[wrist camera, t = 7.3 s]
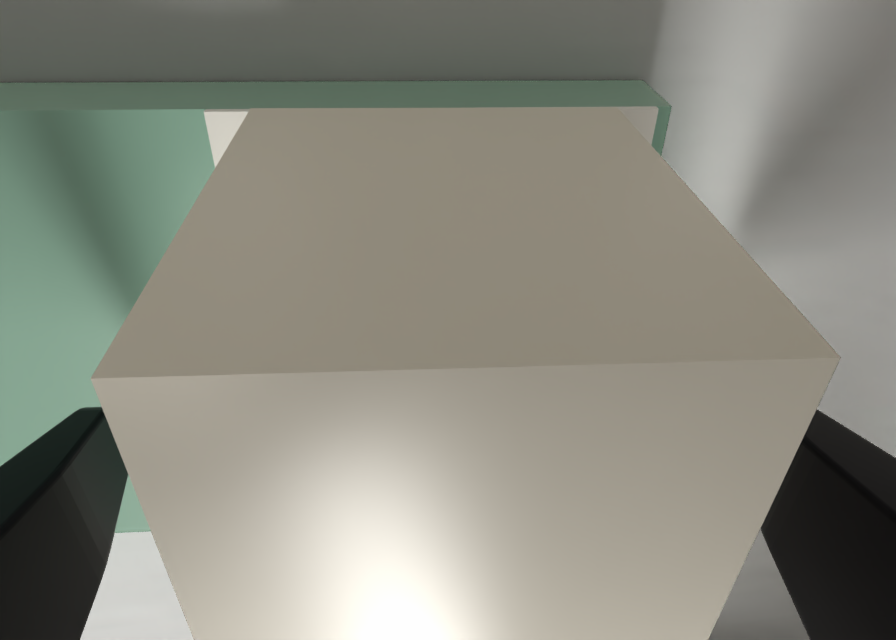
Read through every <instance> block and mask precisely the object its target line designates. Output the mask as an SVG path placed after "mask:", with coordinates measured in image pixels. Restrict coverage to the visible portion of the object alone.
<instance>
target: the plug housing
mask: <svg viewBox="0 0 896 640" xmlns="http://www.w3.org/2000/svg"><path fill="white" fill-rule="evenodd" d="M840 359H841V357H840V356H839V355H838V354H837V353H836V352H835V351H834V349H833V348H832V347H831V346H830V345H829V344H828V343H827V342H826V341H825V339H824V338H823V337H822V336H821V335H820V334H819V333H818V332H817V330H816V329H815V328H814V327H813V326H812V325H811V324H810V323H809V321H808V320H807V319H806V318H805V317H804V316H803V315H802V314H801V313H800V311H799V310H798V309H797V308H796V307H795V306H794V305H793V304H792V302H791V301H790V300H789V299H788V298H787V297H786V296H785V295H784V293H783V292H782V291H781V290H780V289H779V288H778V287H777V286H776V285H775V283H774V282H773V281H772V280H771V279H770V278H769V277H768V276H767V274H766V273H765V272H764V271H763V270H762V269H761V268H760V267H759V265H758V264H757V263H756V262H755V261H754V260H753V259H752V258H751V257H750V255H749V254H748V253H747V252H746V251H745V250H744V249H743V248H742V246H741V245H740V244H739V243H738V242H737V241H736V240H735V239H734V237H733V236H732V235H731V234H730V233H729V232H728V231H727V230H726V229H725V227H724V226H723V225H722V224H721V223H720V222H719V221H718V220H717V218H716V217H715V216H714V215H713V214H712V213H711V212H710V211H709V209H708V208H707V207H706V206H705V205H704V204H703V203H702V202H701V201H700V199H699V198H698V197H697V196H696V195H695V194H694V193H693V192H692V190H691V189H690V188H689V187H688V186H687V185H686V184H685V183H684V181H683V180H682V179H681V178H680V177H679V176H678V175H677V174H676V173H675V171H674V170H673V169H672V168H671V167H670V166H669V165H668V164H667V162H666V161H665V160H664V159H663V158H662V157H661V156H660V155H659V153H658V152H657V151H656V150H655V149H654V148H653V147H652V146H651V145H650V143H649V142H648V141H647V140H646V139H645V138H644V137H643V136H642V134H641V133H640V132H639V131H638V130H637V129H636V128H635V127H634V125H633V124H632V123H631V122H630V121H629V120H628V119H627V118H626V117H625V115H624V114H623V113H622V112H621V111H620V110H619V109H618V108H617V107H510V108H250V110H249V112H248V113H247V115H246V117H245V119H244V120H243V122H242V124H241V125H240V127H239V129H238V130H237V132H236V134H235V135H234V137H233V139H232V140H231V142H230V144H229V146H228V147H227V149H226V151H225V152H224V154H223V156H222V157H221V159H220V161H219V162H218V164H217V166H216V167H215V169H214V171H213V173H212V174H211V176H210V178H209V179H208V181H207V183H206V184H205V186H204V188H203V189H202V191H201V193H200V194H199V196H198V198H197V200H196V201H195V203H194V205H193V206H192V208H191V210H190V211H189V213H188V215H187V216H186V218H185V220H184V222H183V223H182V225H181V227H180V228H179V230H178V232H177V233H176V235H175V237H174V238H173V240H172V242H171V243H170V245H169V247H168V249H167V250H166V252H165V254H164V255H163V257H162V259H161V260H160V262H159V264H158V265H157V267H156V269H155V270H154V272H153V274H152V276H151V277H150V279H149V281H148V282H147V284H146V286H145V287H144V289H143V291H142V292H141V294H140V296H139V297H138V299H137V301H136V303H135V304H134V306H133V308H132V309H131V311H130V313H129V314H128V316H127V318H126V319H125V321H124V323H123V325H122V326H121V328H120V330H119V331H118V333H117V335H116V336H115V338H114V340H113V341H112V343H111V345H110V346H109V348H108V350H107V352H106V353H105V355H104V357H103V358H102V360H101V362H100V363H99V365H98V367H97V368H96V370H95V372H94V373H93V375H92V377H91V381H92V384H93V386H94V389H95V391H96V394H97V396H98V399H99V401H100V404H101V406H102V409H103V412H104V414H105V417H106V419H107V422H108V424H109V427H110V429H111V432H112V434H113V437H114V439H115V442H116V444H117V447H118V449H119V452H120V454H121V457H122V459H123V462H124V464H125V467H126V470H127V472H128V475H129V477H130V480H131V482H132V485H133V487H134V490H135V492H136V495H137V497H138V500H139V502H140V505H141V507H142V510H143V512H144V515H145V517H146V520H147V522H148V525H149V528H150V530H151V533H152V535H153V538H154V540H155V543H156V545H157V548H158V550H159V553H160V555H161V558H162V560H163V563H164V565H165V568H166V570H167V573H168V575H169V578H170V581H171V583H172V586H173V588H174V591H175V593H176V596H177V598H178V601H179V603H180V606H181V608H182V611H183V613H184V616H185V618H186V621H187V623H188V626H189V628H190V631H191V633H192V636H193V639H194V640H708V639H709V637H710V634H711V632H712V630H713V628H714V626H715V624H716V622H717V620H718V617H719V615H720V613H721V611H722V609H723V607H724V605H725V603H726V600H727V598H728V596H729V594H730V592H731V590H732V588H733V586H734V583H735V581H736V579H737V577H738V575H739V573H740V571H741V569H742V567H743V564H744V562H745V560H746V558H747V556H748V554H749V552H750V550H751V547H752V545H753V543H754V541H755V539H756V537H757V535H758V533H759V530H760V528H761V526H762V524H763V522H764V520H765V518H766V516H767V513H768V511H769V509H770V507H771V505H772V503H773V501H774V499H775V497H776V494H777V492H778V490H779V488H780V486H781V484H782V482H783V480H784V477H785V475H786V473H787V471H788V469H789V467H790V465H791V463H792V460H793V458H794V456H795V454H796V452H797V450H798V448H799V446H800V443H801V441H802V439H803V437H804V435H805V433H806V431H807V429H808V426H809V424H810V422H811V420H812V418H813V416H814V414H815V412H816V410H817V407H818V405H819V403H820V401H821V399H822V397H823V395H824V393H825V390H826V388H827V386H828V384H829V382H830V380H831V378H832V376H833V373H834V371H835V369H836V367H837V365H838V363H839V361H840Z"/></svg>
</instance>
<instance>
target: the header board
mask: <svg viewBox="0 0 896 640" xmlns="http://www.w3.org/2000/svg"><path fill="white" fill-rule="evenodd" d="M510 107H617V108H618V109H619V110H620V111H621V112H622V113H623V114H624V115H625V117H626V118H627V119H628V120H629V121H630V122H631V123H632V124H633V125H634V127H635V128H636V129H637V130H638V131H639V132H640V133H641V134H642V136H643V137H644V138H645V139H646V140H647V141H648V142H649V143H650V145H651V146H652V147H653V148H654V149H655V150H656V151H657V152H658V153H659V155H660V156H661V154H662V149H663V145H664V140H665V135H666V130H667V126H668V121H669V116H670V112H671V107H672V106H671V105H670V104H669V103H667V102H666V101H665V100H664V99H663V98H662V97H661V96H660V95H658V94H657V93H656V92H655V91H654V90H653V89H652V88H651V87H650V86H648V85H647V84H646V83H645V82H644V81H643V80H555V81H299V82H44V83H0V466H1V465H3V464H4V463H5V462H7V461H8V460H9V459H11V458H12V457H13V456H15V455H16V454H17V453H19V452H20V451H22V450H23V449H24V448H26V447H27V446H28V445H30V444H31V443H32V442H34V441H35V440H37V439H38V438H39V437H41V436H42V435H43V434H45V433H46V432H47V431H49V430H50V429H52V428H53V427H54V426H56V425H57V424H58V423H60V422H61V421H62V420H64V419H65V418H67V417H68V416H69V415H71V414H72V413H73V412H75V411H76V410H78V409H80V408H84V407H102V406H101V404H100V401H99V399H98V396H97V394H96V391H95V389H94V386H93V384H92V381H91V377H92V375H93V373H94V372H95V370H96V368H97V367H98V365H99V363H100V362H101V360H102V358H103V357H104V355H105V353H106V352H107V350H108V348H109V346H110V345H111V343H112V341H113V340H114V338H115V336H116V335H117V333H118V331H119V330H120V328H121V326H122V325H123V323H124V321H125V319H126V318H127V316H128V314H129V313H130V311H131V309H132V308H133V306H134V304H135V303H136V301H137V299H138V297H139V296H140V294H141V292H142V291H143V289H144V287H145V286H146V284H147V282H148V281H149V279H150V277H151V276H152V274H153V272H154V270H155V269H156V267H157V265H158V264H159V262H160V260H161V259H162V257H163V255H164V254H165V252H166V250H167V249H168V247H169V245H170V243H171V242H172V240H173V238H174V237H175V235H176V233H177V232H178V230H179V228H180V227H181V225H182V223H183V222H184V220H185V218H186V216H187V215H188V213H189V211H190V210H191V208H192V206H193V205H194V203H195V201H196V200H197V198H198V196H199V194H200V193H201V191H202V189H203V188H204V186H205V184H206V183H207V181H208V179H209V178H210V176H211V174H212V173H213V171H214V169H215V167H216V166H217V164H218V162H219V161H220V159H221V157H222V156H223V154H224V152H225V151H226V149H227V147H228V146H229V144H230V142H231V140H232V139H233V137H234V135H235V134H236V132H237V130H238V129H239V127H240V125H241V124H242V122H243V120H244V119H245V117H246V115H247V113H248V112H249V110H250V108H510ZM147 531H151V530H150V528H149V525H148V522H147V520H146V517H145V515H144V512H143V510H142V507H141V505H140V502H139V500H138V497H137V495H136V492H135V490H134V487H133V485H132V482H131V480H130V477H129V475H128V478H127V482H126V486H125V491H124V495H123V499H122V503H121V507H120V512H119V516H118V520H117V524H116V529H115V533H124V532H147Z"/></svg>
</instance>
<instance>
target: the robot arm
mask: <svg viewBox="0 0 896 640" xmlns="http://www.w3.org/2000/svg"><path fill="white" fill-rule="evenodd" d="M127 478H128V472H127V470H126V467H125V464H124V462H123V459H122V457H121V454H120V452H119V449H118V447H117V444H116V442H115V439H114V437H113V434H112V432H111V429H110V427H109V424H108V422H107V419H106V417H105V414H104V412H103V409H102V407H84V408H80V409H78V410H76V411H75V412H73V413H72V414H71V415H69V416H68V417H67V418H65V419H64V420H62V421H61V422H60V423H58V424H57V425H56V426H54V427H53V428H52V429H50V430H49V431H47V432H46V433H45V434H43V435H42V436H41V437H39V438H38V439H37V440H35V441H34V442H32V443H31V444H30V445H28V446H27V447H26V448H24V449H23V450H22V451H20V452H19V453H17V454H16V455H15V456H13V457H12V458H11V459H9V460H8V461H7V462H5V463H4V464H3V465H1V466H0V640H80V638H81V635H82V632H83V630H84V627H85V624H86V621H87V619H88V616H89V613H90V610H91V608H92V605H93V602H94V599H95V597H96V594H97V591H98V588H99V585H100V583H101V580H102V577H103V574H104V571H105V568H106V565H107V561H108V557H109V553H110V550H111V545H112V541H113V537H114V533H115V529H116V524H117V520H118V516H119V512H120V507H121V503H122V499H123V495H124V491H125V486H126V482H127ZM761 531H762V533H763V536H764V538H765V541H766V543H767V545H768V548H769V550H770V552H771V554H772V557H773V559H774V561H775V563H776V565H777V568H778V570H779V572H780V574H781V576H782V579H783V581H784V583H785V585H786V587H787V590H788V592H789V594H790V596H791V598H792V601H793V603H794V605H795V607H796V609H797V612H798V614H799V616H800V618H801V620H802V623H803V625H804V627H805V629H806V631H807V634H808V636H809V638H810V640H896V458H895V457H893V456H891V455H890V454H888V453H887V452H885V451H883V450H882V449H880V448H879V447H877V446H875V445H874V444H872V443H870V442H869V441H867V440H866V439H864V438H862V437H861V436H859V435H858V434H856V433H854V432H853V431H851V430H849V429H848V428H846V427H845V426H843V425H841V424H840V423H838V422H836V421H835V420H833V419H832V418H830V417H828V416H827V415H825V414H824V413H822V412H820V411H819V410H816V412H815V414H814V416H813V418H812V420H811V422H810V424H809V426H808V429H807V431H806V433H805V435H804V437H803V439H802V441H801V443H800V446H799V448H798V450H797V452H796V454H795V456H794V458H793V460H792V463H791V465H790V467H789V469H788V471H787V473H786V475H785V477H784V480H783V482H782V484H781V486H780V488H779V490H778V492H777V494H776V497H775V499H774V501H773V503H772V505H771V507H770V509H769V511H768V513H767V516H766V518H765V520H764V522H763V524H762V526H761Z"/></svg>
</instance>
